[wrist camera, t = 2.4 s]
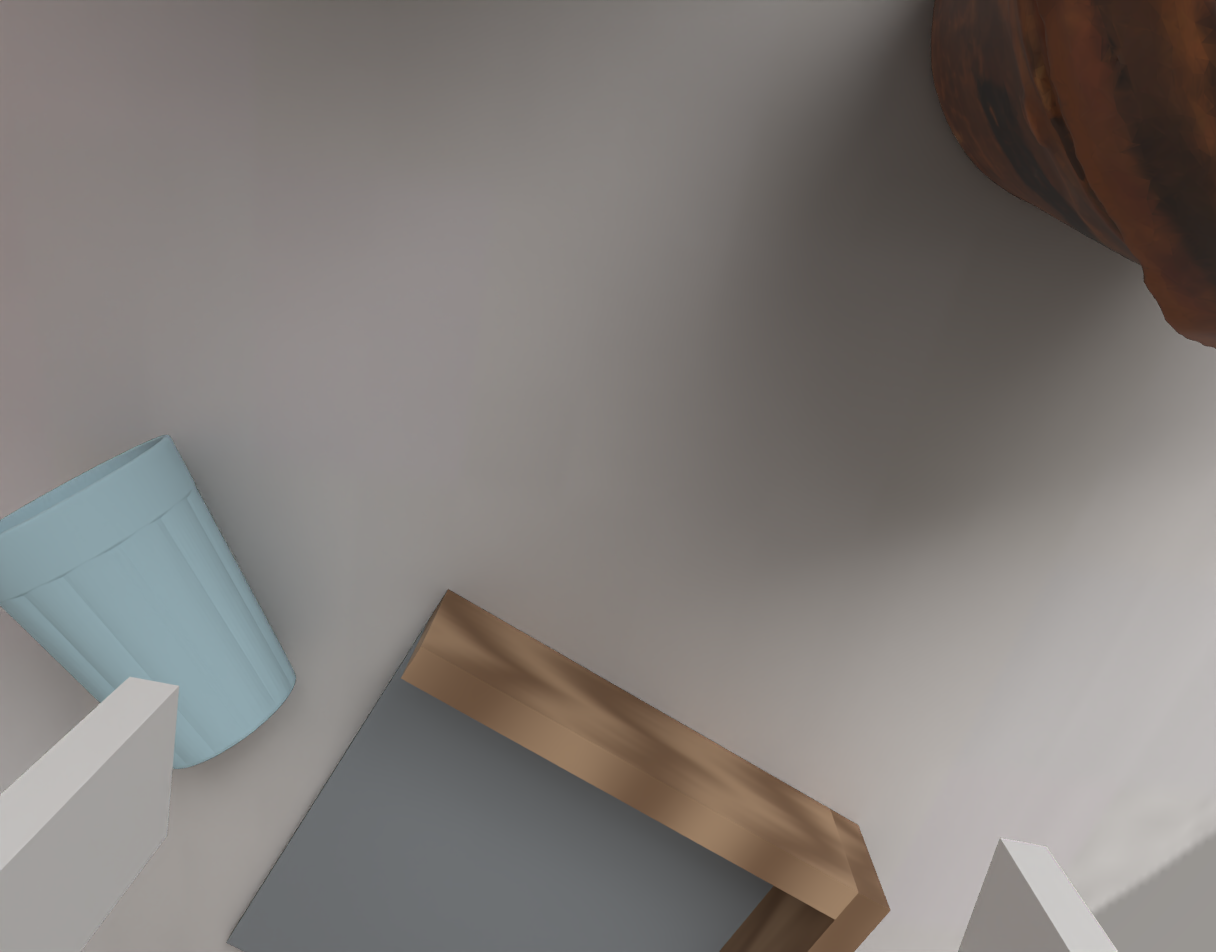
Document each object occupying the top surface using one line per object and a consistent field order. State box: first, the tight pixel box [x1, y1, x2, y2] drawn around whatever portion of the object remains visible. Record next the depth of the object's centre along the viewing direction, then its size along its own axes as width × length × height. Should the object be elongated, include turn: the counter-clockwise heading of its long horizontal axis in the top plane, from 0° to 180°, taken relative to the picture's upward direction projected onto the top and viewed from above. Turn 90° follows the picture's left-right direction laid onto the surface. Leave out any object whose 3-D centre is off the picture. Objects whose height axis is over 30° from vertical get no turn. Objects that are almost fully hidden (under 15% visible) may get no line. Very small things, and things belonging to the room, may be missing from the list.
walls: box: [401, 590, 890, 952], centre depth 38 cm, size 20×20×5 cm
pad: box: [227, 620, 773, 952], centre depth 40 cm, size 19×19×1 cm
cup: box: [0, 435, 296, 769], centre depth 33 cm, size 8×8×10 cm
